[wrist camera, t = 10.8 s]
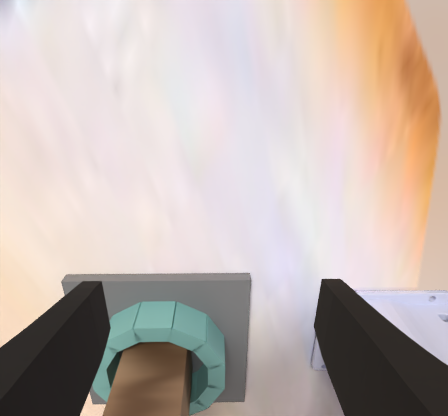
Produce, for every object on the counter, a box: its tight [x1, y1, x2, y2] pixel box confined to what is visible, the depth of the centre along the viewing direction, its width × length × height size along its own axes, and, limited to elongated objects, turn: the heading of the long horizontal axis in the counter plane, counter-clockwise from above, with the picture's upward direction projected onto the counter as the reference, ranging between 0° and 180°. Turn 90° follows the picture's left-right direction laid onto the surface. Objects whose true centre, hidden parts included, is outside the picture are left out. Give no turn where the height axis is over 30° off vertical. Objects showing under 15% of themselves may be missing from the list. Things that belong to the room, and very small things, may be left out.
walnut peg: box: [103, 342, 193, 416], centre depth 21 cm, size 4×4×8 cm
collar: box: [61, 273, 251, 416], centre depth 24 cm, size 13×13×3 cm
